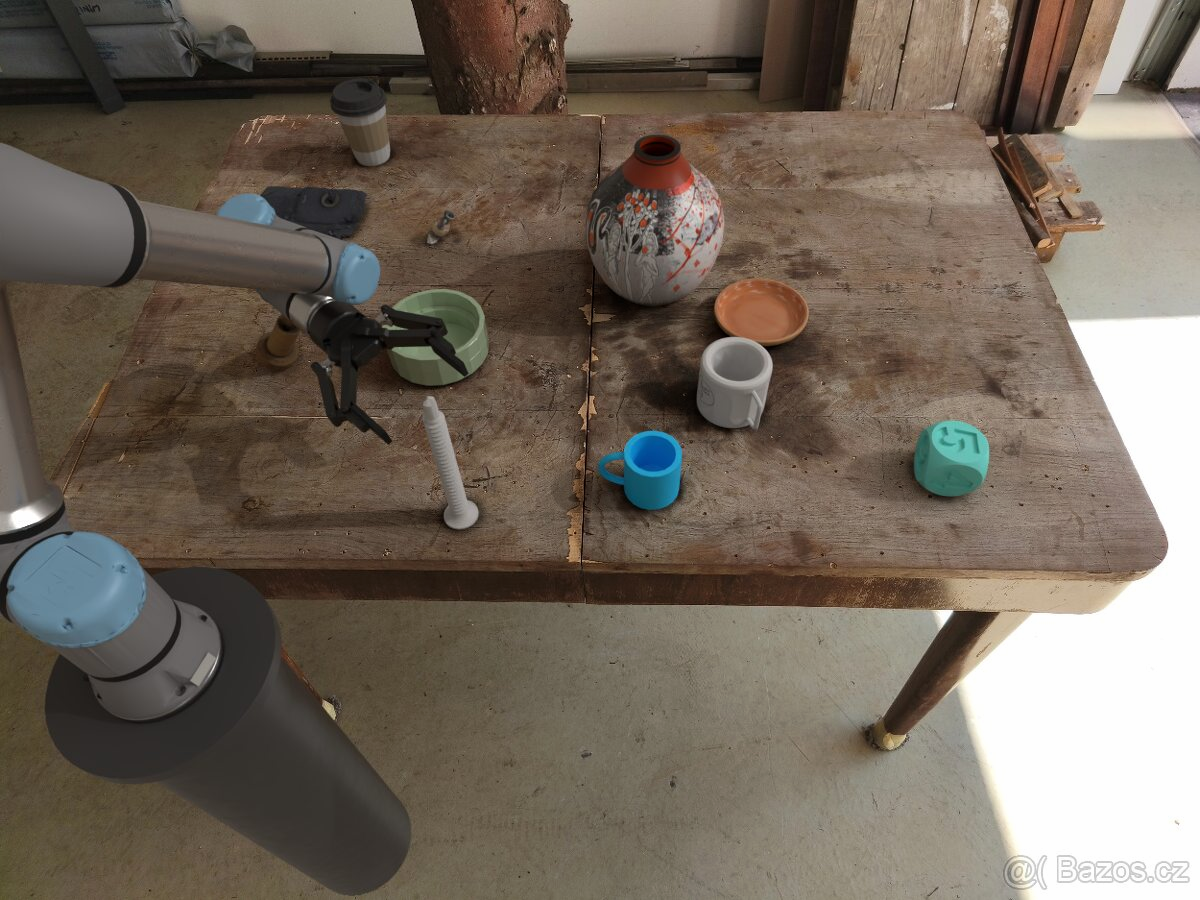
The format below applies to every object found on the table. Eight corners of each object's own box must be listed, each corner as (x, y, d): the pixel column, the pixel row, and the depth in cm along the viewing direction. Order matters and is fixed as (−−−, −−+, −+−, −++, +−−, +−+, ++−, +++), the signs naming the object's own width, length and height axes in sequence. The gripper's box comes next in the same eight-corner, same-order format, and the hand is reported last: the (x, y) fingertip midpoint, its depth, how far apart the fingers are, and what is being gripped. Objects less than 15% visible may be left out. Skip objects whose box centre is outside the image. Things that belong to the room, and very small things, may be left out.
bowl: (385, 391, 132) (375, 361, 127) (398, 321, 142) (389, 290, 137) (486, 387, 132) (480, 357, 127) (492, 317, 142) (486, 287, 137)
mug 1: (680, 466, 122) (683, 432, 115) (677, 512, 117) (680, 479, 110) (601, 460, 123) (600, 426, 116) (595, 505, 118) (593, 472, 111)
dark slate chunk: (272, 189, 167) (264, 168, 164) (374, 196, 165) (368, 176, 161) (242, 235, 158) (232, 214, 154) (349, 243, 156) (342, 223, 152)
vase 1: (462, 231, 158) (457, 205, 153) (454, 248, 154) (449, 222, 150) (435, 228, 158) (430, 202, 153) (427, 246, 155) (421, 220, 150)
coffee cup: (410, 155, 174) (395, 88, 162) (368, 178, 169) (348, 111, 157) (378, 136, 179) (361, 69, 167) (336, 158, 174) (315, 91, 162)
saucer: (699, 337, 138) (700, 324, 136) (731, 280, 147) (733, 268, 145) (789, 365, 134) (792, 352, 131) (817, 305, 142) (820, 292, 140)
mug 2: (684, 390, 131) (688, 346, 123) (743, 371, 133) (751, 327, 125) (723, 451, 123) (730, 409, 115) (785, 430, 125) (796, 387, 117)
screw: (439, 377, 99) (454, 404, 96) (470, 495, 119) (483, 520, 116) (400, 392, 98) (415, 420, 95) (438, 509, 118) (451, 534, 115)
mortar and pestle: (281, 379, 135) (305, 329, 121) (246, 356, 133) (267, 303, 119) (303, 352, 139) (329, 300, 125) (270, 329, 137) (292, 274, 123)
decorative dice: (972, 500, 117) (992, 467, 110) (915, 493, 118) (932, 460, 111) (966, 456, 122) (985, 422, 115) (911, 450, 122) (927, 416, 116)
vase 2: (571, 318, 142) (562, 178, 120) (606, 237, 155) (604, 98, 133) (702, 342, 138) (718, 201, 115) (727, 256, 151) (745, 116, 129)
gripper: (404, 284, 121) (500, 358, 112) (272, 393, 114) (363, 481, 105) (388, 249, 114) (488, 325, 106) (246, 363, 107) (341, 454, 99)
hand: (426, 403), depth 106 cm, fingers open, 13 cm apart
